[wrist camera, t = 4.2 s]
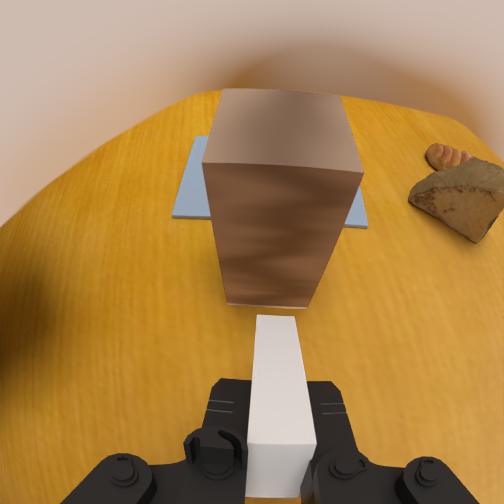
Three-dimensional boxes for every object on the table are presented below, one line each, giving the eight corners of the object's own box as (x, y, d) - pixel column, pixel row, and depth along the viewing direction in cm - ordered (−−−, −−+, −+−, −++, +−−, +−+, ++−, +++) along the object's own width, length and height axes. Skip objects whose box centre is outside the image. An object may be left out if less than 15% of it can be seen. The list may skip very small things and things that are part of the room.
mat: (172, 217, 27) (171, 215, 26) (196, 138, 33) (195, 136, 33) (367, 228, 26) (368, 226, 26) (348, 147, 32) (349, 144, 32)
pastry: (419, 169, 31) (431, 146, 28) (427, 145, 34) (436, 124, 31) (479, 206, 28) (493, 186, 25) (480, 178, 31) (491, 160, 28)
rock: (391, 189, 26) (470, 257, 20) (434, 119, 22) (519, 179, 16) (417, 205, 33) (474, 255, 28) (450, 152, 29) (510, 199, 24)
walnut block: (227, 305, 22) (201, 162, 10) (234, 239, 25) (223, 88, 14) (306, 309, 22) (364, 172, 10) (305, 242, 25) (339, 96, 13)
